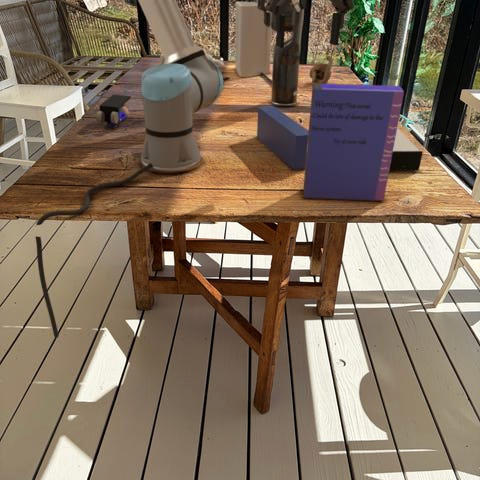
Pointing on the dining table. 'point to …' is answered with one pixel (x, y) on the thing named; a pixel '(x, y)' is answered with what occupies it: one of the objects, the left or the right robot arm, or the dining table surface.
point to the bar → (283, 136)
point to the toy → (205, 54)
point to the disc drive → (405, 154)
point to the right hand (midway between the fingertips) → (280, 26)
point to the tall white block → (252, 41)
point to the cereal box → (351, 141)
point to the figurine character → (113, 110)
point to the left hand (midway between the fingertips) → (307, 45)
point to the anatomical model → (321, 71)
